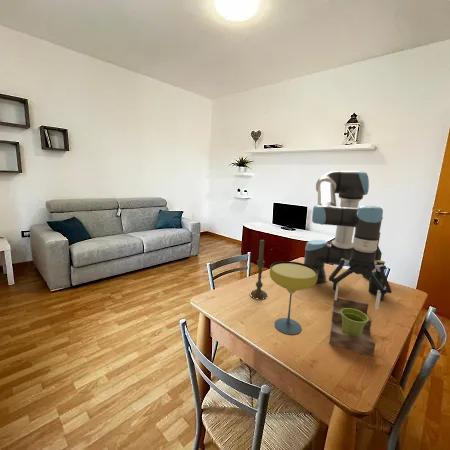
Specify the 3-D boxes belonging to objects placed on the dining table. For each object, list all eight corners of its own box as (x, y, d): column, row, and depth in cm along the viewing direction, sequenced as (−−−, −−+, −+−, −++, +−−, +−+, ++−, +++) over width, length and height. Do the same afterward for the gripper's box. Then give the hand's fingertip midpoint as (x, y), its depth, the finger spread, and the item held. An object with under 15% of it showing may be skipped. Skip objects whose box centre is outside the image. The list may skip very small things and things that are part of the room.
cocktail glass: (304, 347, 87) (311, 283, 82) (258, 329, 96) (262, 271, 91) (315, 322, 102) (322, 267, 97) (274, 309, 111) (279, 258, 106)
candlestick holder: (247, 297, 121) (250, 239, 115) (252, 289, 130) (255, 235, 124) (265, 301, 118) (269, 242, 112) (269, 293, 126) (273, 238, 120)
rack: (329, 343, 90) (331, 331, 89) (333, 305, 116) (334, 296, 115) (372, 356, 84) (375, 343, 83) (366, 314, 110) (368, 303, 109)
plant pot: (358, 328, 97) (361, 309, 95) (369, 344, 88) (373, 323, 86) (334, 326, 98) (337, 307, 96) (343, 341, 89) (346, 320, 87)
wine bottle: (359, 274, 156) (366, 229, 149) (371, 274, 156) (378, 229, 150) (367, 279, 147) (375, 232, 141) (380, 279, 148) (388, 232, 142)
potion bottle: (385, 292, 131) (391, 261, 128) (382, 297, 126) (388, 265, 122) (368, 287, 137) (373, 257, 133) (365, 292, 131) (370, 261, 127)
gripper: (325, 246, 88) (319, 299, 93) (409, 258, 77) (397, 317, 82) (327, 241, 95) (321, 291, 99) (404, 252, 84) (393, 307, 89)
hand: (355, 303), depth 91 cm, fingers open, 13 cm apart
